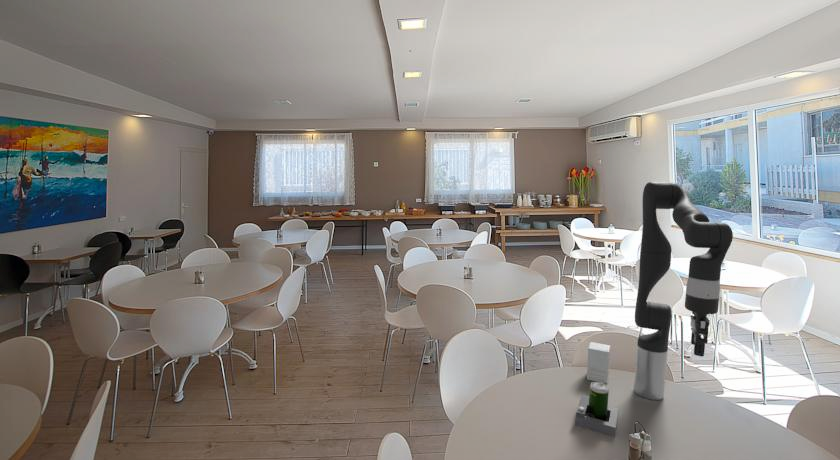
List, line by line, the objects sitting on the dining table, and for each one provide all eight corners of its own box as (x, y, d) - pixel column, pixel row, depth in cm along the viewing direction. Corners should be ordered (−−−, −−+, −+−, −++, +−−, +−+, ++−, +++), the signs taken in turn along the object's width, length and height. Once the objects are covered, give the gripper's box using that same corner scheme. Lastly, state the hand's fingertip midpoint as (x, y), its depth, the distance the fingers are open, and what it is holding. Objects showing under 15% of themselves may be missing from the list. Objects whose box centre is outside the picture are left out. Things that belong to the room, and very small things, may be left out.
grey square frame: (580, 408, 130) (581, 393, 129) (617, 418, 124) (618, 403, 124) (575, 425, 120) (576, 410, 120) (615, 437, 115) (616, 421, 114)
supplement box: (609, 376, 152) (611, 345, 150) (607, 384, 145) (609, 352, 144) (588, 371, 155) (590, 341, 154) (586, 379, 149) (588, 347, 148)
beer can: (599, 429, 119) (602, 392, 117) (584, 420, 123) (586, 384, 122) (610, 423, 122) (612, 387, 120) (594, 414, 126) (596, 379, 125)
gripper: (723, 302, 100) (717, 362, 102) (715, 289, 112) (710, 343, 114) (688, 298, 103) (682, 356, 105) (684, 286, 116) (679, 338, 118)
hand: (697, 349), depth 110 cm, fingers open, 8 cm apart
